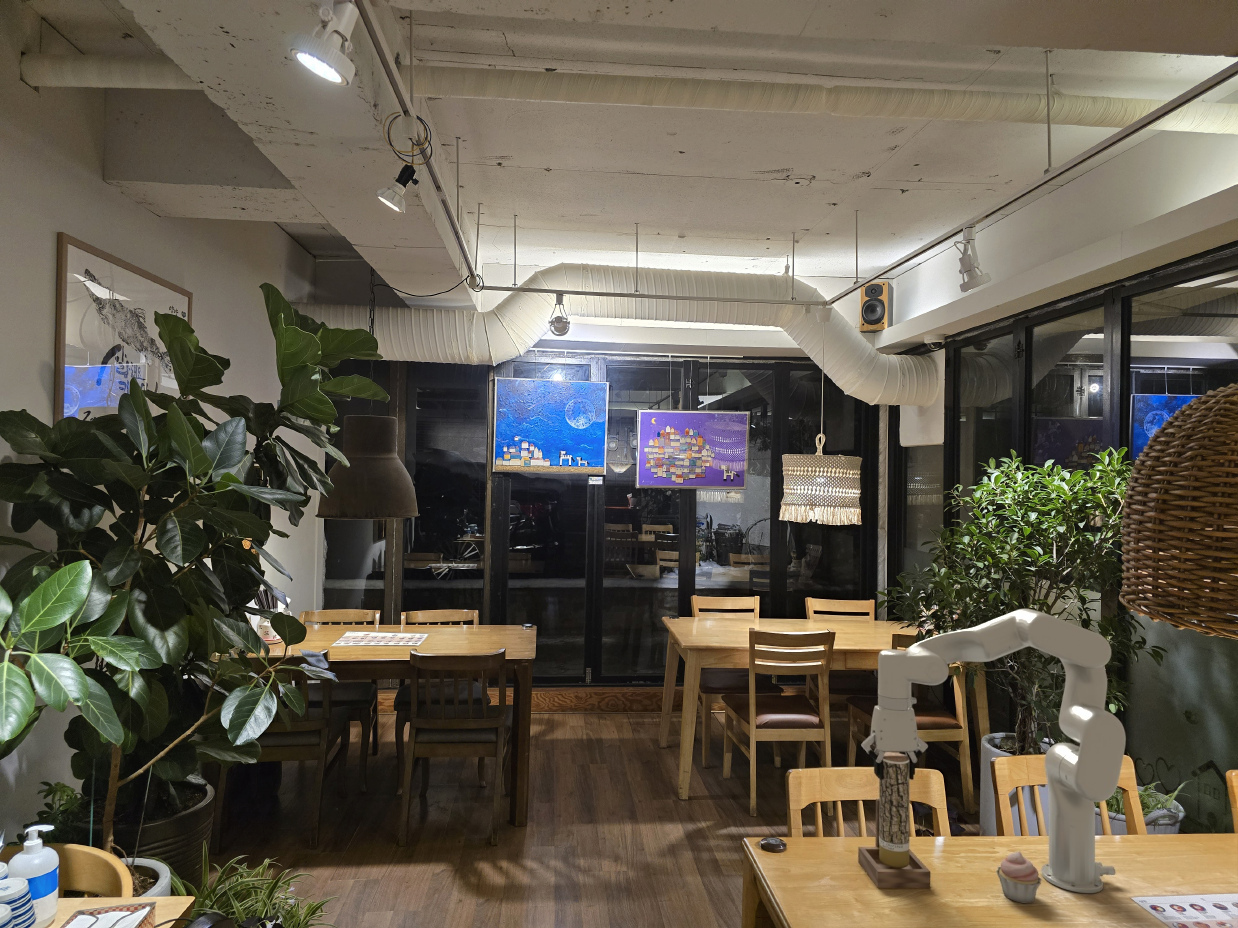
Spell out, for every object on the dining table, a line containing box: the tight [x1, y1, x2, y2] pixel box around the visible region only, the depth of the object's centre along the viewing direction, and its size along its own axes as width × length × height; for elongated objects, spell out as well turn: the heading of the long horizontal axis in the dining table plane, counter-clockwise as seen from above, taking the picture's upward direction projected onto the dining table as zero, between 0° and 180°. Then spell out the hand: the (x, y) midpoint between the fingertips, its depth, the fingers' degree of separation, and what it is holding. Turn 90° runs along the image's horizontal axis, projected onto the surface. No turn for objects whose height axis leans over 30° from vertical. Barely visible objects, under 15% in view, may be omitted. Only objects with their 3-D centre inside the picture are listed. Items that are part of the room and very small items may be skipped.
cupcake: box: [995, 850, 1043, 904], centre depth 173 cm, size 9×9×10 cm
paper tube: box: [878, 752, 910, 868], centre depth 183 cm, size 7×7×25 cm
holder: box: [857, 798, 931, 889], centre depth 183 cm, size 12×13×15 cm
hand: (894, 776), depth 183 cm, fingers closed on paper tube, 6 cm apart
